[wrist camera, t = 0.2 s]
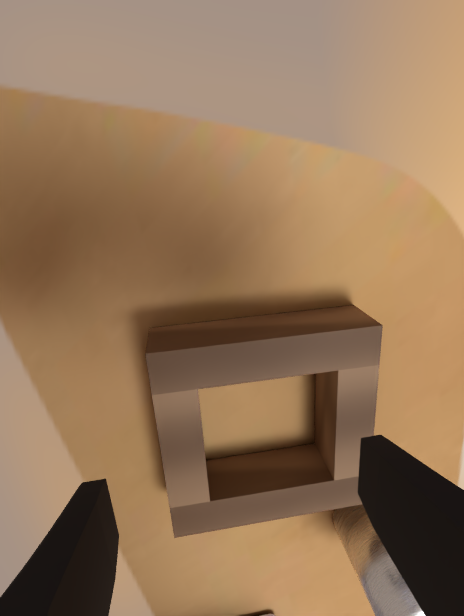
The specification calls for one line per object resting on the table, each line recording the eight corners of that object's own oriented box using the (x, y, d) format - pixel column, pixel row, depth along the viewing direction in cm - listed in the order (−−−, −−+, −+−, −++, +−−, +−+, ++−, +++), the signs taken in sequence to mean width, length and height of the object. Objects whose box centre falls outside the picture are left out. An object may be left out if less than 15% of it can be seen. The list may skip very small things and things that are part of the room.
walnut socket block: (345, 465, 24) (368, 503, 21) (174, 493, 23) (174, 537, 20) (353, 305, 20) (382, 325, 17) (149, 327, 19) (145, 353, 16)
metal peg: (390, 530, 27) (460, 645, 20) (332, 541, 26) (384, 663, 20) (395, 483, 25) (473, 590, 19) (333, 493, 25) (391, 607, 18)
